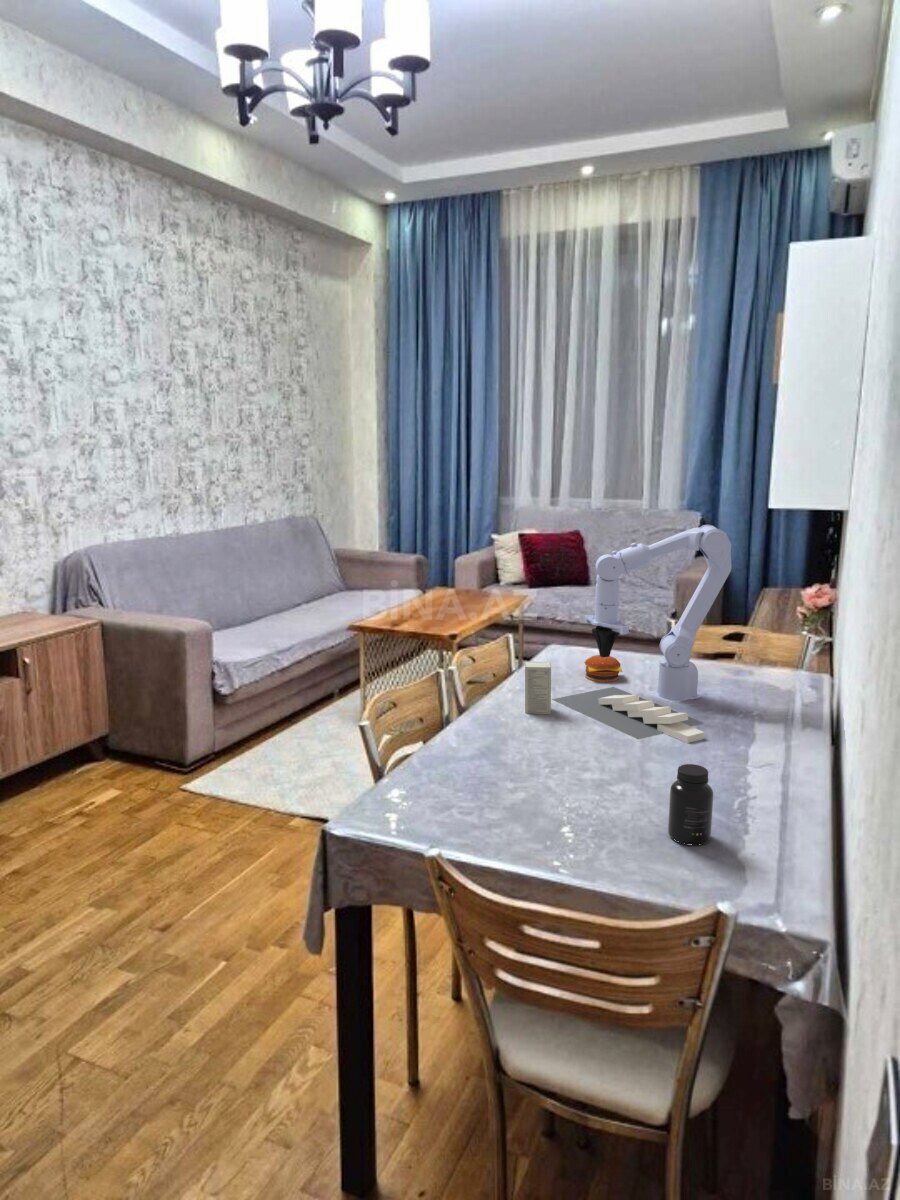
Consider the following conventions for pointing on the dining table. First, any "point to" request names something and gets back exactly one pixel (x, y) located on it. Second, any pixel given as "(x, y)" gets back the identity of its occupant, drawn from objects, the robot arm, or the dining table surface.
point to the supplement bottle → (691, 806)
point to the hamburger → (602, 669)
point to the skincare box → (538, 687)
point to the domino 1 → (618, 699)
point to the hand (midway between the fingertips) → (604, 656)
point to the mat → (614, 712)
